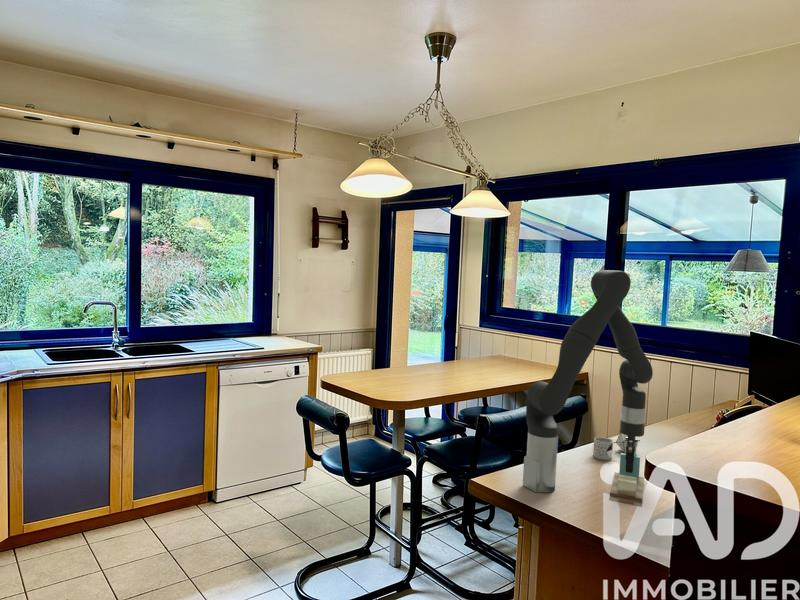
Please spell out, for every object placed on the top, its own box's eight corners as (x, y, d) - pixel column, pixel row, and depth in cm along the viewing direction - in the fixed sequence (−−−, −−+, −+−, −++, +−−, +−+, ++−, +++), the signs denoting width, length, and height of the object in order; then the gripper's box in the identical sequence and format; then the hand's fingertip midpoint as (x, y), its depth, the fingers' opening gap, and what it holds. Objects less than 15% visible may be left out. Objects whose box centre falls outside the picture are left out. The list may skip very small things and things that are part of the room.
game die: (630, 462, 203) (643, 447, 197) (609, 452, 205) (622, 437, 199) (631, 445, 210) (644, 430, 204) (610, 436, 212) (622, 421, 206)
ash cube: (635, 499, 155) (636, 483, 155) (617, 495, 157) (618, 479, 157) (635, 493, 160) (636, 477, 160) (618, 490, 162) (619, 474, 162)
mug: (610, 461, 192) (611, 443, 192) (591, 457, 196) (592, 440, 195) (614, 454, 201) (615, 437, 201) (595, 450, 204) (597, 433, 204)
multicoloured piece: (642, 510, 150) (643, 483, 150) (608, 503, 154) (610, 476, 154) (643, 480, 174) (645, 457, 173) (614, 475, 178) (616, 452, 177)
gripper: (644, 426, 166) (641, 480, 167) (645, 417, 179) (641, 466, 179) (619, 422, 169) (615, 475, 170) (621, 413, 182) (618, 462, 183)
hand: (629, 470), depth 175 cm, fingers closed on multicoloured piece, 2 cm apart
